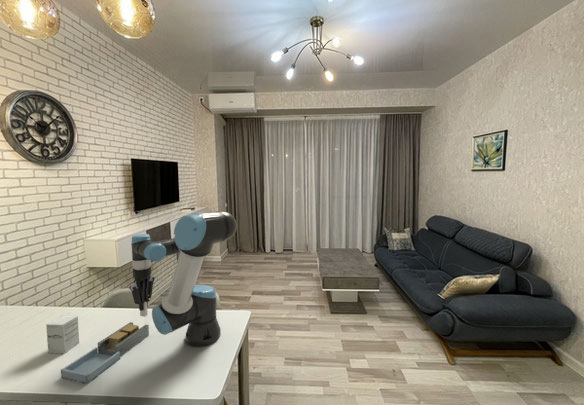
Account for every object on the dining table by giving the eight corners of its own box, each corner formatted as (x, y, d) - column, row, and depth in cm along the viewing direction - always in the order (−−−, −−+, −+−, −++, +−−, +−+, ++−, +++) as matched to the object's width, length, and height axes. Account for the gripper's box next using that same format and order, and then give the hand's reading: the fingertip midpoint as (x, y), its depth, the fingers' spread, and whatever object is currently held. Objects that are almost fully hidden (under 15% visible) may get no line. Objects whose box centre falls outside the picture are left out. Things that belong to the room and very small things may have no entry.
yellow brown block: (128, 340, 110) (127, 333, 109) (118, 347, 105) (118, 339, 105) (118, 339, 111) (118, 331, 110) (109, 345, 106) (108, 337, 106)
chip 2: (138, 333, 115) (138, 325, 115) (130, 339, 111) (130, 331, 111) (129, 331, 116) (129, 324, 116) (121, 337, 112) (120, 329, 112)
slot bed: (148, 335, 118) (148, 324, 117) (118, 358, 102) (117, 346, 102) (131, 332, 120) (130, 322, 120) (98, 354, 105) (97, 343, 104)
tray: (120, 358, 102) (119, 351, 102) (87, 384, 89) (87, 375, 89) (96, 354, 105) (95, 347, 105) (61, 377, 92) (60, 370, 92)
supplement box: (47, 353, 105) (45, 324, 104) (64, 342, 112) (62, 314, 111) (64, 354, 105) (62, 324, 104) (80, 342, 112) (78, 315, 111)
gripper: (146, 262, 126) (147, 307, 129) (123, 271, 114) (125, 321, 116) (159, 263, 125) (160, 309, 127) (137, 273, 112) (139, 324, 114)
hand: (143, 315), depth 121 cm, fingers closed
